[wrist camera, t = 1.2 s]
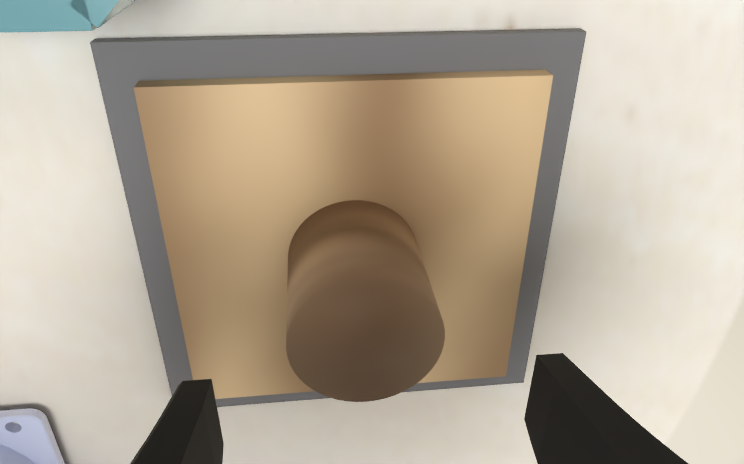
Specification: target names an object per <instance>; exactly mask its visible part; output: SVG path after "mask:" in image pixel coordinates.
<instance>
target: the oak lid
mask: <svg viewBox="0 0 744 464" xmlns="http://www.w3.org/2000/svg"><path fill="white" fill-rule="evenodd" d="M552 80H553V75H552V74H551V73H549V72H548V71H547V70H545V69H543V70H508V71H472V72H436V73H400V74H364V75H328V76H292V77H256V78H220V79H184V80H149V81H138V83H137V84H136V85H135V86H134V92H135V97H136V102H137V107H138V112H139V117H140V122H141V126H142V131H143V136H144V141H145V146H146V151H147V156H148V161H149V166H150V171H151V176H152V181H153V185H154V190H155V195H156V200H157V205H158V210H159V215H160V220H161V225H162V230H163V235H164V240H165V245H166V249H167V254H168V259H169V264H170V269H171V274H172V279H173V284H174V289H175V294H176V299H177V304H178V308H179V313H180V318H181V323H182V328H183V333H184V338H185V343H186V348H187V353H188V358H189V363H190V368H191V372H192V377H193V380H202V379H212V384H213V389H214V395H215V399H222V398H235V397H248V396H261V395H273V394H286V393H299V392H311V391H316V392H318V393H320V394H322V395H325V396H327V397H330V398H334V399H338V400H344V401H353V402H363V401H374V400H379V399H384V398H387V397H391V396H394V395H396V394H399V393H401V392H403V391H405V390H407V389H409V388H410V387H412V386H414V385H415V384H416V383H426V382H439V381H452V380H464V379H477V378H490V377H502V376H506V372H507V366H508V360H509V353H510V347H511V341H512V334H513V328H514V322H515V315H516V309H517V303H518V296H519V290H520V284H521V277H522V271H523V265H524V258H525V252H526V245H527V239H528V233H529V226H530V220H531V214H532V207H533V201H534V195H535V188H536V182H537V176H538V169H539V163H540V157H541V150H542V144H543V138H544V131H545V125H546V119H547V112H548V106H549V99H550V93H551V87H552Z"/></svg>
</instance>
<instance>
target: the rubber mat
mask: <svg viewBox="0 0 744 464" xmlns="http://www.w3.org/2000/svg"><path fill="white" fill-rule="evenodd" d="M585 36H586V31H584V30H582V29H539V30H492V31H445V32H397V33H350V34H303V35H256V36H208V37H161V38H114V39H94V40H93V41H91V42H90V44H91V48H92V53H93V57H94V61H95V66H96V70H97V74H98V78H99V83H100V87H101V91H102V96H103V100H104V104H105V109H106V113H107V117H108V122H109V126H110V130H111V135H112V139H113V143H114V148H115V152H116V156H117V160H118V165H119V169H120V173H121V178H122V182H123V186H124V191H125V195H126V199H127V204H128V208H129V212H130V217H131V221H132V225H133V230H134V234H135V238H136V242H137V247H138V251H139V255H140V260H141V264H142V268H143V273H144V277H145V281H146V286H147V290H148V294H149V299H150V303H151V307H152V311H153V316H154V320H155V324H156V329H157V333H158V337H159V342H160V346H161V350H162V355H163V359H164V363H165V368H166V372H167V376H168V381H169V385H170V389H171V393H172V396H173V394H174V392H175V390H176V388H177V386H178V385H179V384H180V383H181V382H182V381H188V380H193V377H192V372H191V368H190V363H189V358H188V353H187V348H186V343H185V338H184V333H183V328H182V323H181V318H180V313H179V308H178V304H177V299H176V294H175V289H174V284H173V279H172V274H171V269H170V264H169V259H168V254H167V249H166V245H165V240H164V235H163V230H162V225H161V220H160V215H159V210H158V205H157V200H156V195H155V190H154V185H153V181H152V176H151V171H150V166H149V161H148V156H147V151H146V146H145V141H144V136H143V131H142V126H141V122H140V117H139V112H138V107H137V102H136V97H135V92H134V86H135V85H136V84H137V83H138V81H149V80H184V79H220V78H256V77H292V76H328V75H364V74H400V73H436V72H472V71H508V70H543V69H545V70H547V71H548V72H549V73H551V74H552V75H553V80H552V87H551V93H550V99H549V106H548V112H547V119H546V125H545V131H544V138H543V144H542V150H541V157H540V163H539V169H538V176H537V182H536V188H535V195H534V201H533V207H532V214H531V220H530V226H529V233H528V239H527V245H526V252H525V258H524V265H523V271H522V277H521V284H520V290H519V296H518V303H517V309H516V315H515V322H514V328H513V334H512V341H511V347H510V353H509V360H508V366H507V372H506V376H502V377H490V378H477V379H464V380H452V381H439V382H426V383H416V384H415V385H414V386H412V387H410V388H409V389H407V390H405V391H403V392H410V391H422V390H435V389H447V388H460V387H472V386H485V385H497V384H510V383H523V382H524V377H525V371H526V366H527V360H528V355H529V349H530V343H531V338H532V332H533V327H534V321H535V315H536V310H537V304H538V299H539V293H540V288H541V282H542V276H543V271H544V265H545V260H546V254H547V248H548V243H549V237H550V232H551V226H552V220H553V215H554V209H555V204H556V198H557V193H558V187H559V181H560V176H561V170H562V165H563V159H564V153H565V148H566V142H567V137H568V131H569V126H570V120H571V114H572V109H573V103H574V98H575V92H576V86H577V81H578V75H579V70H580V64H581V59H582V53H583V47H584V42H585ZM322 398H330V397H327V396H325V395H322V394H320V393H318V392H316V391H311V392H299V393H286V394H273V395H261V396H248V397H235V398H222V399H215V400H216V406H217V407H222V406H234V405H247V404H259V403H272V402H284V401H297V400H310V399H322Z"/></svg>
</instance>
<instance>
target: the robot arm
mask: <svg viewBox="0 0 744 464" xmlns="http://www.w3.org/2000/svg"><path fill="white" fill-rule="evenodd" d="M14 422H16V423H18V424H16V423H14ZM525 423H526V426H527V430H528V433H529V437H530V440H531V444H532V447H533V450H534V453H535V456H536V459H537V463H538V464H688V463H687V462H685V461H684V460H683V459H681V458H680V457H679V456H678V455H676V454H675V453H674V452H673V451H671V450H670V449H669V448H668V447H666V446H665V445H664V444H663V443H662V442H660V441H659V440H658V439H657V438H655V437H654V436H653V435H652V434H651V433H649V432H648V431H647V430H646V429H645V428H643V427H642V426H641V425H640V424H639V423H638V422H636V421H635V420H634V419H633V418H632V417H631V416H630V415H629V414H627V413H626V412H625V411H624V410H623V409H622V408H621V407H620V406H618V405H617V404H616V403H615V402H614V401H613V400H612V399H611V398H610V397H609V396H608V395H606V394H605V393H604V392H603V391H602V390H601V389H600V388H599V387H598V386H597V385H596V384H595V383H594V382H593V381H592V380H590V379H589V378H588V377H587V376H586V375H585V374H584V373H583V372H582V371H581V370H580V369H579V368H578V367H577V366H576V365H575V364H574V363H573V362H571V361H570V360H569V359H568V358H567V357H566V356H565V355H564V354H563V353H560V354H546V355H537V356H536V361H535V366H534V371H533V377H532V382H531V387H530V392H529V398H528V403H527V408H526V413H525ZM222 458H223V439H222V433H221V428H220V422H219V417H218V411H217V406H216V400H215V395H214V389H213V384H212V379H202V380H188V381H182V382H181V383H180V384H179V385H178V386H177V388H176V390H175V392H174V394H173V396H172V397H171V399H170V401H169V403H168V405H167V406H166V408H165V410H164V412H163V413H162V415H161V417H160V418H159V420H158V422H157V423H156V425H155V426H154V428H153V430H152V431H151V433H150V435H149V436H148V438H147V439H146V441H145V442H144V444H143V445H142V447H141V448H140V450H139V451H138V453H137V454H136V456H135V457H134V459H133V460H132V462H131V464H222ZM0 464H65V463H64V460H63V458H62V455H61V453H60V450H59V447H58V445H57V442H56V440H55V437H54V435H53V432H52V429H51V427H50V424H49V422H48V419H47V417H46V415H45V414H44V413H43V412H41V411H40V410H37V409H30V408H28V409H15V410H2V411H0Z"/></svg>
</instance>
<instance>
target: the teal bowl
mask: <svg viewBox="0 0 744 464" xmlns="http://www.w3.org/2000/svg"><path fill="white" fill-rule="evenodd" d="M134 1H136V0H0V32H47V31H93V30H94V29H95V28H98V27H100V26H101V25H103V24H104V23H105V22H107V21H108V20H110V19H111V18H112V17H114V16H115V15H116V14H118V13H119V12H121V11H122V10H123V9H125V8H126V7H127V6H129V5H130V4H132V3H133V2H134Z"/></svg>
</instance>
